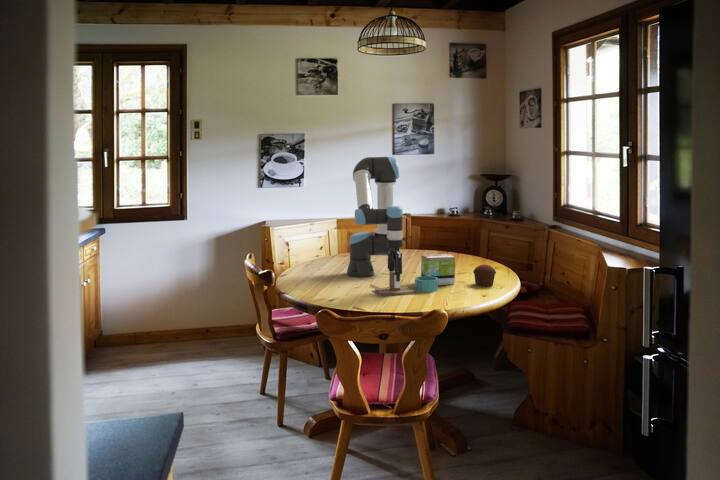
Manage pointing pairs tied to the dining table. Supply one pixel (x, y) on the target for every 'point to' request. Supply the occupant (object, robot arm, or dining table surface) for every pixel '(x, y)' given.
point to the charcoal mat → (389, 296)
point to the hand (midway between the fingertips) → (394, 285)
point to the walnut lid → (394, 291)
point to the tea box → (439, 268)
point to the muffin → (484, 275)
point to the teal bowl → (426, 284)
